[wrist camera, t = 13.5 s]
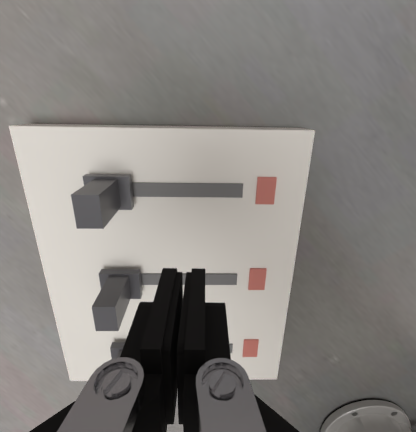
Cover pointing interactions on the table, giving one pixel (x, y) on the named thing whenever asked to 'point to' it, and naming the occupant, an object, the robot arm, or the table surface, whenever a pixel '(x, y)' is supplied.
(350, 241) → the table surface
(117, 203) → the breaker
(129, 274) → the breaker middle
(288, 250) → the breaker panel
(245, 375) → the robot arm
